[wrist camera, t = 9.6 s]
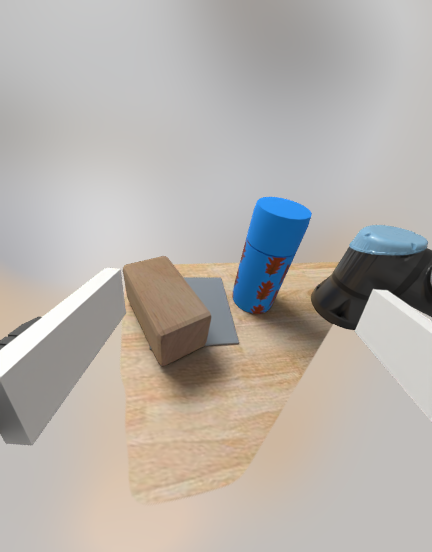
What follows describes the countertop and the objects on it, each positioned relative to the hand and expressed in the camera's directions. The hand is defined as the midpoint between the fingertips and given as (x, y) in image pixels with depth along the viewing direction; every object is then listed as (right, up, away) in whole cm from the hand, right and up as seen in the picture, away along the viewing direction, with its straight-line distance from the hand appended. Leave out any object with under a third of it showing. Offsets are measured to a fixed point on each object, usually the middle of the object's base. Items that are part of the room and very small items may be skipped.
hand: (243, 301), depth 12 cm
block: (-6, -10, +26) cm, 29 cm away
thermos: (+8, -5, +45) cm, 46 cm away
